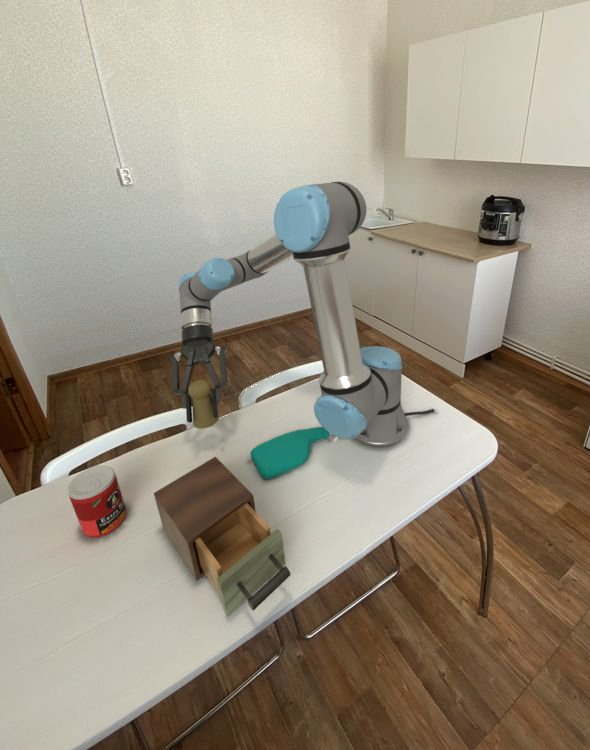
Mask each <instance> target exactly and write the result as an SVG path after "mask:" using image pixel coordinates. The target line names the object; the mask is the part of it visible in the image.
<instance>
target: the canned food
mask: <svg viewBox="0 0 590 750" xmlns="http://www.w3.org/2000/svg"><path fill="white" fill-rule="evenodd" d="M67 494H68V497H69V500H70V503H71V505H72V509H73V510H74V512H75V516H76V519H77V522H78V523H79V526H80V529H81V531H82V533H83V534H84V535H85V536H86V537H88V538H92V539H93V538H94V539H95V538H101V537H105V536H107V535H109V534H111V533H112V532H114V531H115V530H117V529H118V528H119V527H120V526H121V524H122V523H123V522H124V521H125V518H126V512H127V507H126V504H125V501H124V498H123V495H122V491H121V488H120V483H119V481H118V478H117V475H116V472H115V470H114V469H113V467H111V466H109V465H96V466H92V467H90V468H87V469H85V470H83V471H81V472H80V473H78V474H77V475H76V476H75V477H73V478H72V479H71V481H70V482H69V484H68V486H67Z"/></svg>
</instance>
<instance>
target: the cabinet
mask: <svg viewBox="0 0 590 750" xmlns="http://www.w3.org/2000/svg"><path fill="white" fill-rule="evenodd" d="M153 496H154V500H155V504H156V507H157V510H158V514H159V518H160V522H161V526H162V529H163V531H164V532H165V534H166V535H167V537H168V539H169V541H170V542H171V543H172V545H173V546H174V548H175V550H176V551H177V553H178V554H179V555H180V558H182V560H183V562H184V563H185V565H186V566H187V568H188V569H189V571H190V573H191V574H192V576H193V577H194V579H195V581H198V580H200V579H201V578H202V577H204V576H206V574H205V573H204V572H203V570H202V569H201V567H200V566H199V564H198V562H197V558H196V554H195V550H194V546H193V541H195V540H196V539H198V538H199V537H200V536H202V535H203V534H205V533H206V532H207V531H209V530H210V529H211V528H213V527H214V526H216V525H217V524H218V523H220V522H221V521H222V520H224V519H225V518H227V517H228V516H229V515H231V514H232V513H234V512H235V511H236V510H238V509H239V508H240V507H242V506H243V505H245V504H246V503H248V504H249V506H250V507H251V508H252V509H253V510H254V511H255V512H256V513H257V511H256V504H255V497H254V494H253V493H252V492H251V491H250V490H249V489H248V488H247V487H246V485H244V484H243V482H241V481H240V480H239V479H238V477H236V476H235V475H234V473H233V472H232V471H230V469H228V468H227V467H226V466H225V464H224V463H223V462H222V461H221V460H220V459H219V458H218V457H217V456H214V457H212V458H210V459H209V460H206V461H205V462H203V463H202V464H200V465H199V466H197V467H196V468H194V469H192V470H190V471H189V472H186V473H185V474H183V475H181V476H180V477H178V478H177V479H175V480H173V481H172V482H170V483H168V484H167V485H165V486H163V487H162V488H160V489H158V490H156V491H155V492H154V493H153Z"/></svg>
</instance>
